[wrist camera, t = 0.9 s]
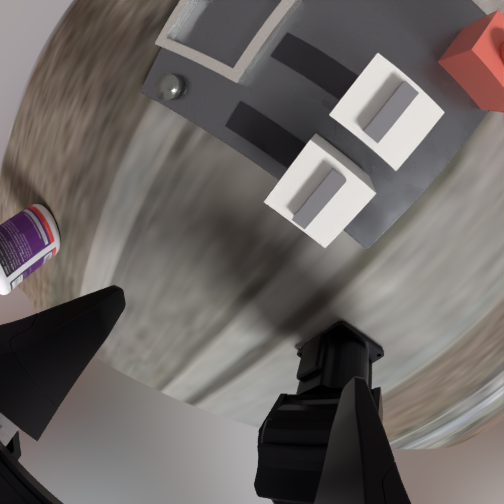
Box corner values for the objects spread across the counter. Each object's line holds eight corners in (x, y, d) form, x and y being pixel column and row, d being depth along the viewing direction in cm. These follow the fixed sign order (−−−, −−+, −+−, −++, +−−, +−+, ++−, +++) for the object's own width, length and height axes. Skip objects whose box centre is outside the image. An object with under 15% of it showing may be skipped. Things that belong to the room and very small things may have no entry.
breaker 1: (369, 175, 15) (377, 197, 11) (328, 221, 17) (324, 253, 14) (315, 133, 14) (308, 141, 11) (278, 183, 17) (260, 206, 13)
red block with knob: (505, 73, 8) (555, 73, 3) (480, 109, 10) (532, 118, 5) (463, 27, 8) (505, 6, 3) (437, 62, 10) (478, 47, 5)
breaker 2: (423, 110, 11) (449, 113, 8) (384, 157, 14) (398, 174, 10) (369, 64, 11) (379, 50, 8) (330, 113, 14) (328, 115, 10)
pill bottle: (31, 193, 28) (-44, 242, 17) (60, 212, 28) (-26, 272, 16) (38, 238, 33) (-26, 288, 21) (66, 260, 32) (-3, 320, 21)
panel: (514, 58, 7) (530, 56, 5) (366, 241, 19) (367, 257, 17) (282, -90, 6) (275, -103, 4) (149, 91, 17) (131, 92, 16)
